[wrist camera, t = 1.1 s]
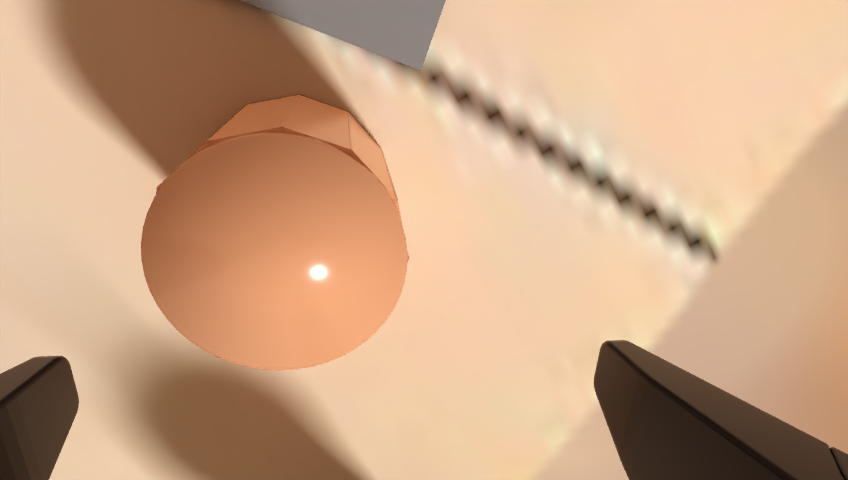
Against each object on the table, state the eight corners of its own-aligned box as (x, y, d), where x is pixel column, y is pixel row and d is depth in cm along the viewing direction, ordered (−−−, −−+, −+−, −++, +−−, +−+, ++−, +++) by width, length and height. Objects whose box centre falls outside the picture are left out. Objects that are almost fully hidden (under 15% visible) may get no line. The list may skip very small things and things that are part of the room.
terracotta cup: (185, 244, 21) (119, 340, 15) (226, 68, 19) (169, 94, 13) (356, 288, 23) (362, 390, 17) (412, 133, 21) (444, 184, 14)
